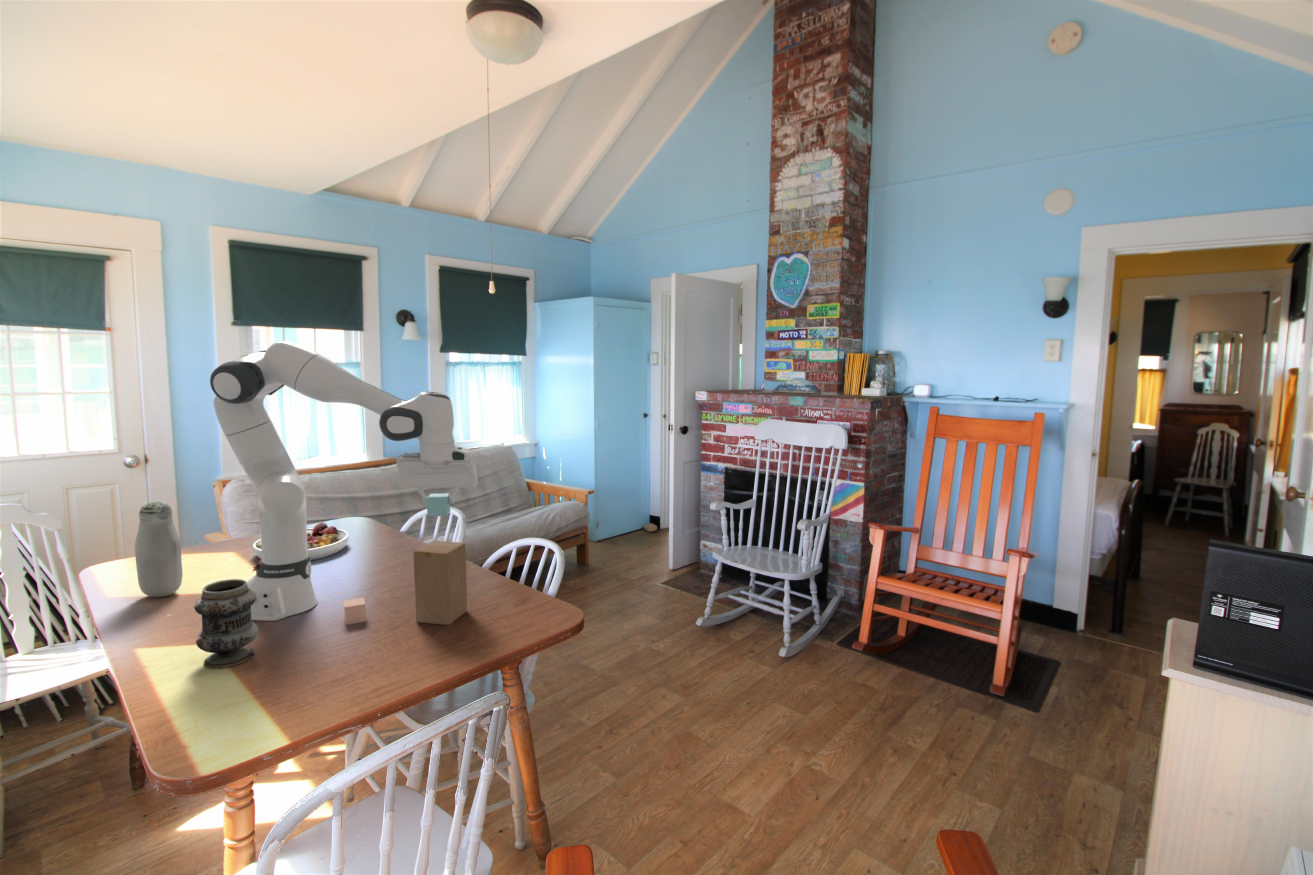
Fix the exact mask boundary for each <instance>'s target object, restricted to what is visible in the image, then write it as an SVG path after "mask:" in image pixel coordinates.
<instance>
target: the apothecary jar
mask: <svg viewBox="0 0 1313 875" xmlns="http://www.w3.org/2000/svg"><path fill="white" fill-rule="evenodd" d="M201 593H202V594H201V596H200V597H199V598H197V600H196V601H195V602H194V605H193V606H194V611H195V612H196V613H197V614H199V615H201V625H202V626H201V631H199V633H198V635H197V636H196V639H195V644H196V647H197V648H198V649H200V650H202V651H203V652H206V653H211V654H210V655H208V656H207V657H206V658H205V659H204V661H203V665H204V666H205V667H206V668H209V669H224V668H229V667H234V666H237V665H240V664H242V663H245V662H247V661H249V660H250V659H251V657H252V656H254V655H255V650H254V649H253V648H250V647H247V645H250V644H251V643H252V642H253V641H254V640H255V639H256V638H257V637H258V635H259V627H258V625H257V623H255V622H254V621H253V620H252V619H251V606H252V605H253V604H254V602H255V600H256V594H255V592H254V591H253V590H251V589H249V588H248V586H247V581H246V580H244V579H240V578H239V579H238V578H233V579H223V580H222V579H221V580H217V581H214V582H211V583H209V584H207V585H205V586H204V587H203V588H202V591H201Z"/></svg>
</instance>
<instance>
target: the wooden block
mask: <svg viewBox="0 0 1313 875" xmlns="http://www.w3.org/2000/svg"><path fill="white" fill-rule="evenodd" d="M466 562H467V559H466V543H465V542H455V541H443V540H442V541H441V540H440V541H439V540H433V541H430V542H429V543H425V545H422V546H421V547H418V548H417V549H415V550H414V551H413V570H414V572H413V574H414V598H415V599H414V600H415V621H416V622H417V623H422V624H433V625H441V626H442V625H443V626H450V625H452V624H453V623H454V622H455V621H457V620H458V619H459V618H460V617H461V616H463V615H464V614H465V613H467V611H468V598H467V596H468V594H467V563H466Z"/></svg>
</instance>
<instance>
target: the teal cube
mask: <svg viewBox="0 0 1313 875" xmlns="http://www.w3.org/2000/svg"><path fill="white" fill-rule="evenodd" d="M449 496H451V494H450V493H445V492H444V493H430V494H429V495H428V496H427V504H426V510H427V511H426V513H427V517H448V515H450V513H451V504H448V497H449Z"/></svg>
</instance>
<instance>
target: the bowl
mask: <svg viewBox="0 0 1313 875" xmlns="http://www.w3.org/2000/svg"><path fill="white" fill-rule="evenodd" d="M348 542H349V533H348V532H347V531H346V530H343V529H340V528H339V529H338V528H337V527H336V526H333V525H332V526H331V525H330V526H328V524H326V523H325V522H319V523H317V524H316V525H315V526H314V527H312V528H307V545H308V555H309V556H310V561H314V560H319V559H322V558H323V559H324V558H326V557H329V556H332V555H335V554H336V553H338V552H340V551H342V550H343V549H345V547H346V546H347V544H348ZM252 548H253V549H252V550H253V553H254V554H255V555H256V557H258V559H260V560H261V559H262V548H261V538H260V539H257V540H256V541H255V542H254V543H253V544H252Z"/></svg>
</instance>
